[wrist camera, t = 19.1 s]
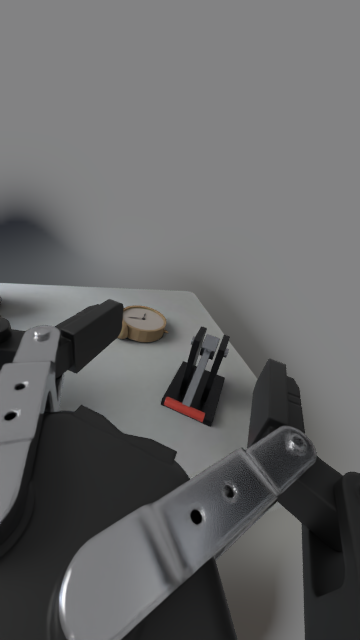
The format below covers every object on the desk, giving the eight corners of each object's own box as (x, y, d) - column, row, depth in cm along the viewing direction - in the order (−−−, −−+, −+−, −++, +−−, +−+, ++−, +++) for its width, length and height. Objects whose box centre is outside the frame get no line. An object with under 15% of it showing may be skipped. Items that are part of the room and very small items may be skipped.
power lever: (201, 425, 31) (203, 418, 29) (163, 407, 32) (163, 401, 30) (226, 350, 39) (229, 342, 37) (195, 338, 40) (197, 330, 38)
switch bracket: (210, 426, 38) (235, 370, 31) (160, 404, 40) (173, 346, 33) (223, 382, 47) (244, 331, 40) (182, 365, 49) (195, 314, 42)
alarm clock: (173, 332, 53) (105, 323, 47) (165, 349, 55) (100, 342, 49) (161, 307, 62) (103, 296, 55) (156, 322, 64) (99, 314, 58)
